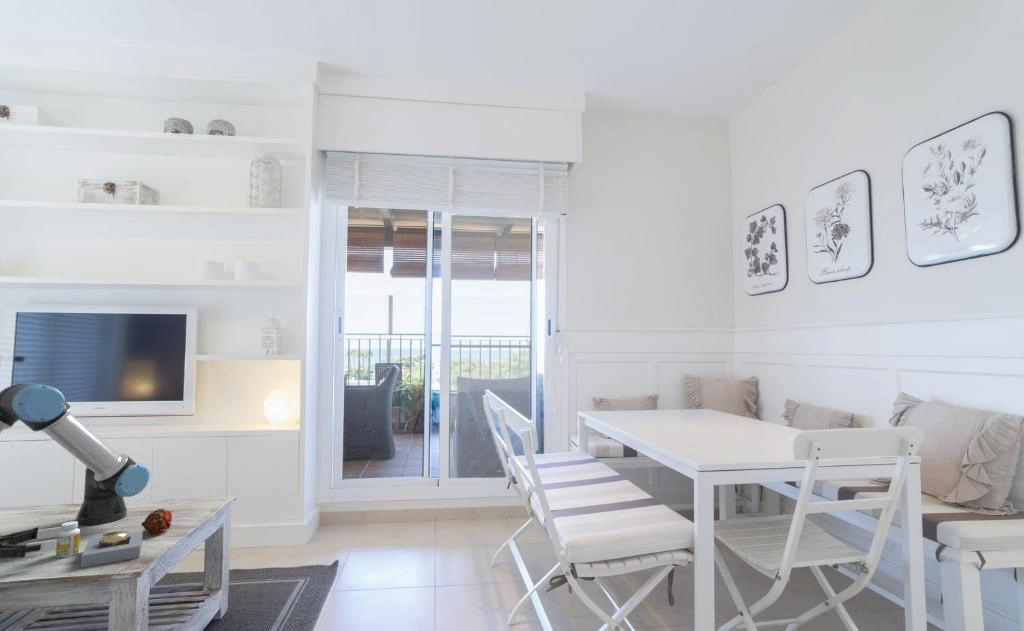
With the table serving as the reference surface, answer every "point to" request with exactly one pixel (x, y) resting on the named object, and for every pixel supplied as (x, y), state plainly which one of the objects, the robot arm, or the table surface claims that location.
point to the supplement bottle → (68, 539)
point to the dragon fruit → (158, 521)
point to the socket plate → (111, 550)
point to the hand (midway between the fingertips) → (60, 537)
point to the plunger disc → (114, 538)
